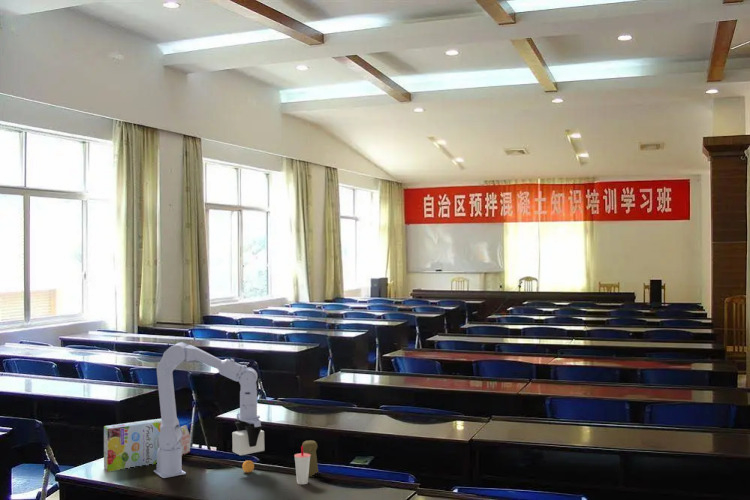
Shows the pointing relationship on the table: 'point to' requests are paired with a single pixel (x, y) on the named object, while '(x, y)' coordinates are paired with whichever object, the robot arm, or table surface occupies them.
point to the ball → (248, 466)
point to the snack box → (131, 444)
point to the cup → (302, 466)
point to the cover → (246, 443)
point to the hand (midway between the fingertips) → (248, 444)
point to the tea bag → (185, 440)
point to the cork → (311, 449)
